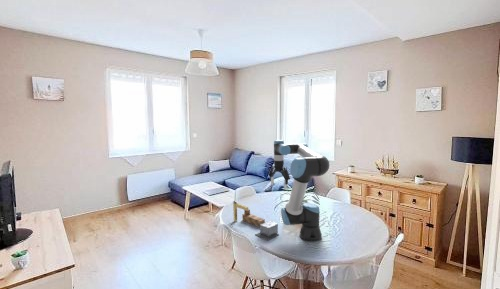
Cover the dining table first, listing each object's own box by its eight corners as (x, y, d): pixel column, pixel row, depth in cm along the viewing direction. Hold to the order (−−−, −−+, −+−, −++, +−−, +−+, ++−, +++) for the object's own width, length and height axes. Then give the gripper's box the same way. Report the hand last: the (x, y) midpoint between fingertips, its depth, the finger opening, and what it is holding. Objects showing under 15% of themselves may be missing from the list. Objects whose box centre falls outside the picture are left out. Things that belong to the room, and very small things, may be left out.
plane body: (264, 225, 205) (264, 214, 204) (260, 227, 202) (260, 216, 201) (247, 218, 220) (246, 207, 219) (242, 220, 216) (242, 209, 215)
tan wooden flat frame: (249, 225, 205) (248, 205, 203) (246, 226, 203) (246, 206, 201) (235, 220, 216) (235, 200, 214) (233, 220, 214) (232, 201, 212)
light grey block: (268, 237, 184) (268, 228, 184) (260, 234, 190) (260, 224, 189) (277, 233, 191) (277, 223, 191) (269, 229, 197) (269, 220, 196)
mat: (278, 234, 189) (278, 234, 189) (267, 240, 181) (267, 240, 181) (266, 229, 198) (266, 229, 198) (255, 235, 190) (255, 234, 190)
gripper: (294, 161, 200) (294, 188, 203) (270, 157, 218) (270, 182, 220) (288, 162, 195) (288, 190, 197) (263, 158, 213) (264, 184, 215)
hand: (278, 186), depth 209 cm, fingers open, 13 cm apart
